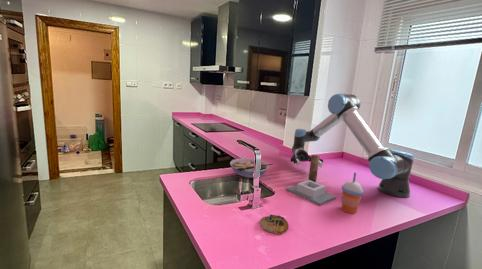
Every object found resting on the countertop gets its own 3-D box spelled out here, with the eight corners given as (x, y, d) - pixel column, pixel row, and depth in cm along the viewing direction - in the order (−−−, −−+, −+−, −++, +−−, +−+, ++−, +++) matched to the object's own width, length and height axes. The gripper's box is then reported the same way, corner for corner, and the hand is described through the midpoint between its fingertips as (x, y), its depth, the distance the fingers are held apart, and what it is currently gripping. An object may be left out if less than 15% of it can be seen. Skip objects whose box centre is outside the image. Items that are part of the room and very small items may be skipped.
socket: (335, 198, 126) (336, 188, 125) (319, 205, 117) (321, 195, 115) (302, 184, 140) (303, 176, 139) (286, 190, 131) (287, 181, 130)
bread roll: (285, 219, 103) (286, 208, 101) (290, 239, 92) (292, 227, 90) (258, 218, 102) (258, 208, 101) (260, 238, 92) (261, 227, 90)
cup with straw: (347, 216, 109) (353, 176, 105) (334, 206, 117) (339, 169, 114) (364, 214, 111) (371, 176, 108) (350, 204, 120) (356, 169, 116)
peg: (317, 183, 145) (321, 156, 141) (313, 184, 142) (316, 157, 139) (310, 180, 148) (314, 154, 145) (306, 182, 145) (309, 155, 142)
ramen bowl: (253, 167, 165) (254, 155, 163) (277, 179, 146) (278, 165, 145) (220, 172, 150) (221, 159, 149) (242, 186, 132) (243, 172, 130)
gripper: (319, 161, 170) (330, 172, 150) (282, 158, 170) (288, 169, 149) (320, 150, 169) (332, 160, 148) (283, 148, 168) (290, 157, 148)
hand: (310, 164), depth 149 cm, fingers open, 13 cm apart
